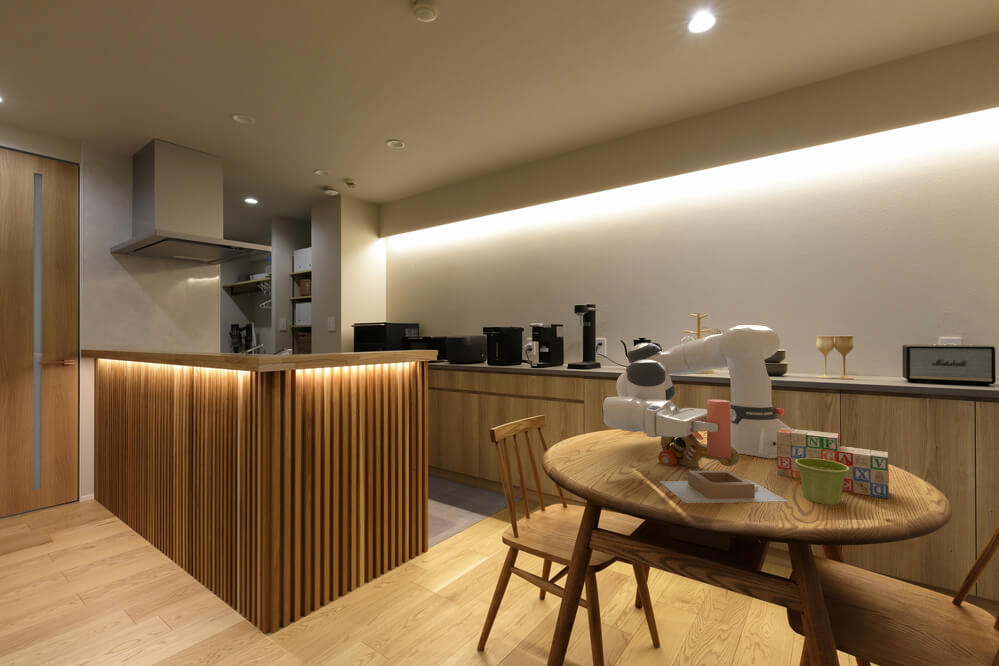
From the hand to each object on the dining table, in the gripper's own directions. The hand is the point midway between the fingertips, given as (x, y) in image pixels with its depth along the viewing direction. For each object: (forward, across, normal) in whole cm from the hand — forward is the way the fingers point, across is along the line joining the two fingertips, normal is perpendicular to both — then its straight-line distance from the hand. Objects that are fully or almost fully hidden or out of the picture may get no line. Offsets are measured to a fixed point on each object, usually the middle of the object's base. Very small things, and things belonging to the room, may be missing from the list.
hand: (722, 425), depth 102 cm
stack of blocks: (+16, -26, -16) cm, 34 cm away
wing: (+2, -8, -15) cm, 17 cm away
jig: (-1, 0, -16) cm, 16 cm away
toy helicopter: (-12, -15, -16) cm, 25 cm away
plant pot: (+17, -9, -16) cm, 25 cm away
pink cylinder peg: (-1, 0, -7) cm, 7 cm away
